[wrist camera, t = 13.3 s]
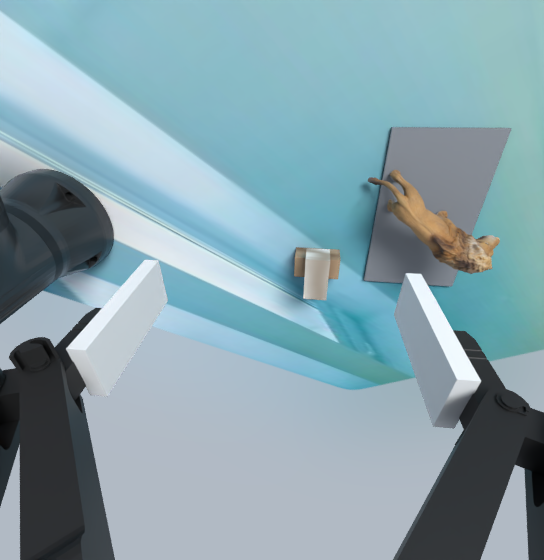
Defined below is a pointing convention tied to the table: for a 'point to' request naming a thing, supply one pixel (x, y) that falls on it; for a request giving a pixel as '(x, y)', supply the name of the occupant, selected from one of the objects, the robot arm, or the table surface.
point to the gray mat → (432, 195)
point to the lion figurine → (439, 230)
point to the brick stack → (316, 270)
